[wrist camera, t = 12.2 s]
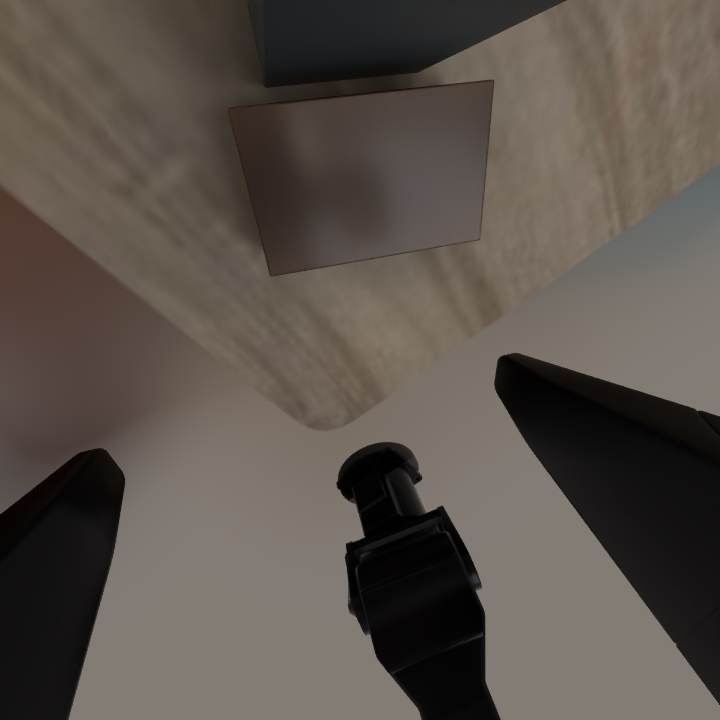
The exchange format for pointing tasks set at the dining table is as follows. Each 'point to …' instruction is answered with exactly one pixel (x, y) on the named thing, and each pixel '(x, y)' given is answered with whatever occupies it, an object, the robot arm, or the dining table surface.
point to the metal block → (365, 172)
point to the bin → (373, 35)
